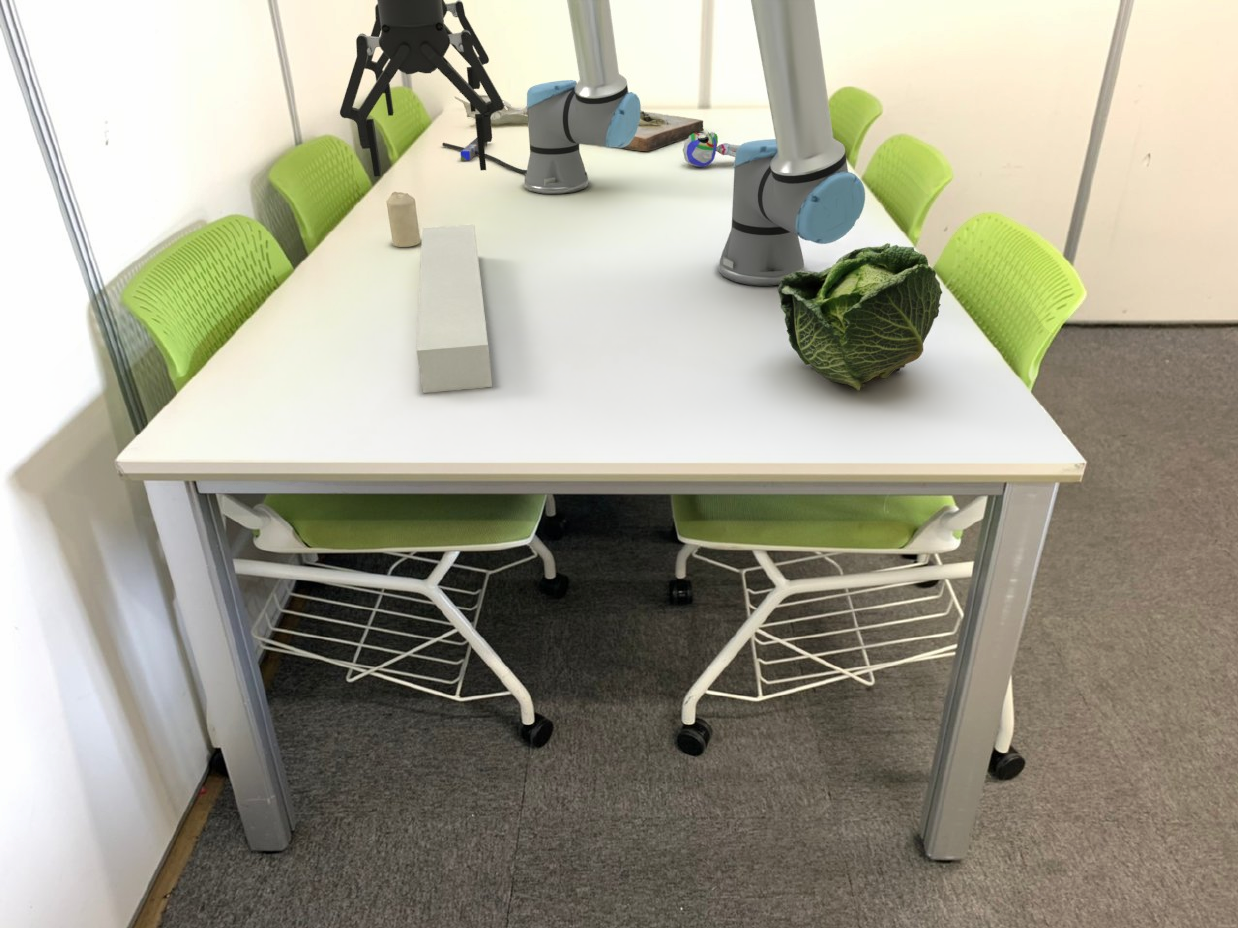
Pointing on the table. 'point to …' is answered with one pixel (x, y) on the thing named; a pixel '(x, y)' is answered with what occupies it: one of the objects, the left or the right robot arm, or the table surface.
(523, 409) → the table surface
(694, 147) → the toy
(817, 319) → the vegetable
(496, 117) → the anatomical model
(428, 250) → the slab
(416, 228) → the candle
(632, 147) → the plaque
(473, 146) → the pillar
